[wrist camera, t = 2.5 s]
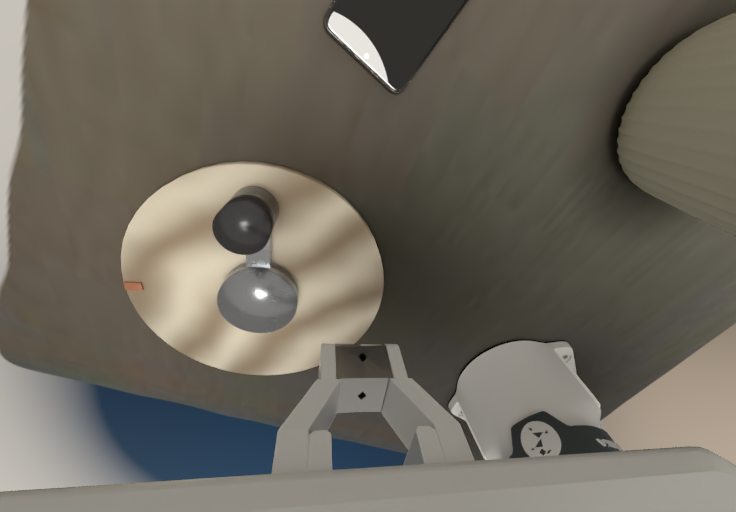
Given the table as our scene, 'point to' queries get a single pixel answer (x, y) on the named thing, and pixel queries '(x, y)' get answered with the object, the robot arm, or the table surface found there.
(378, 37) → the smartphone
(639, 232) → the table surface
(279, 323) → the crank handle
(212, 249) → the base
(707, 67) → the canister
